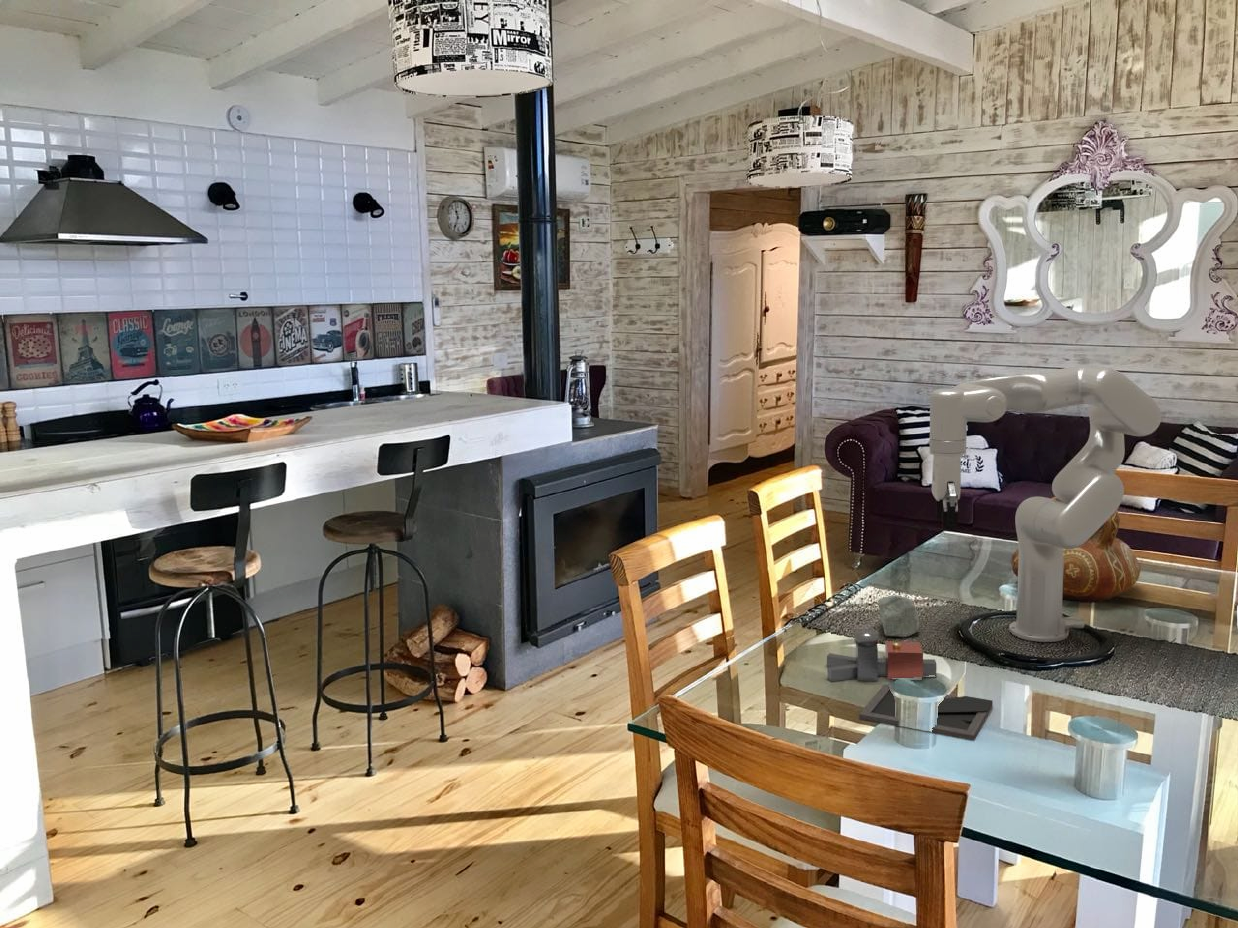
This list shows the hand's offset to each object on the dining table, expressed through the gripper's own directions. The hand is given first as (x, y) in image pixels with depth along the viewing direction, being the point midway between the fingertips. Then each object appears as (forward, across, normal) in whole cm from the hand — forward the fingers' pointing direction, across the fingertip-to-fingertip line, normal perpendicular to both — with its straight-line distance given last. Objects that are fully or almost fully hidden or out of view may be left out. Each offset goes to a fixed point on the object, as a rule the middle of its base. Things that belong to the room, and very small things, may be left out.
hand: (946, 523), depth 227 cm
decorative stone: (+28, -10, -9) cm, 31 cm away
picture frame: (+29, +36, -8) cm, 47 cm away
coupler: (+28, +17, -15) cm, 36 cm away
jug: (+29, -43, +38) cm, 64 cm away
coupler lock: (+28, +17, -11) cm, 34 cm away
